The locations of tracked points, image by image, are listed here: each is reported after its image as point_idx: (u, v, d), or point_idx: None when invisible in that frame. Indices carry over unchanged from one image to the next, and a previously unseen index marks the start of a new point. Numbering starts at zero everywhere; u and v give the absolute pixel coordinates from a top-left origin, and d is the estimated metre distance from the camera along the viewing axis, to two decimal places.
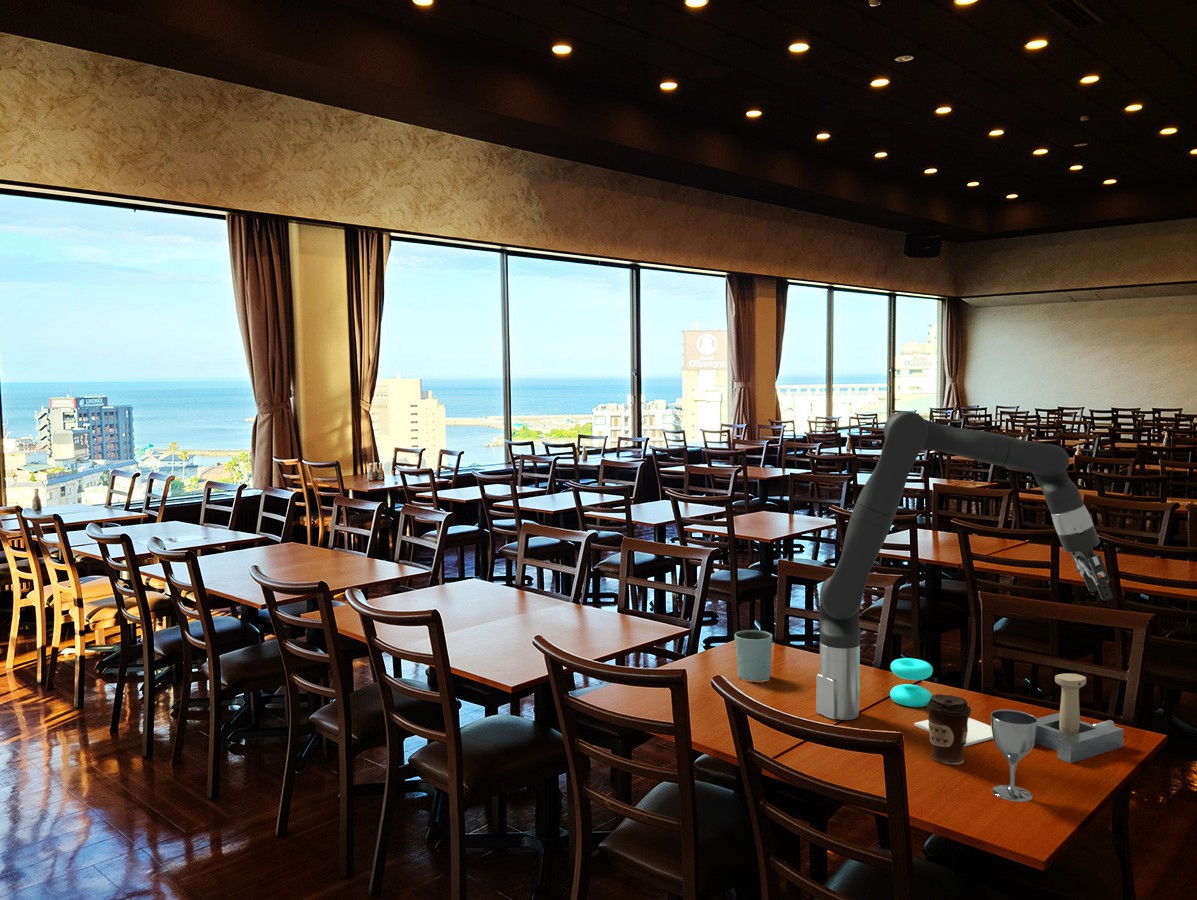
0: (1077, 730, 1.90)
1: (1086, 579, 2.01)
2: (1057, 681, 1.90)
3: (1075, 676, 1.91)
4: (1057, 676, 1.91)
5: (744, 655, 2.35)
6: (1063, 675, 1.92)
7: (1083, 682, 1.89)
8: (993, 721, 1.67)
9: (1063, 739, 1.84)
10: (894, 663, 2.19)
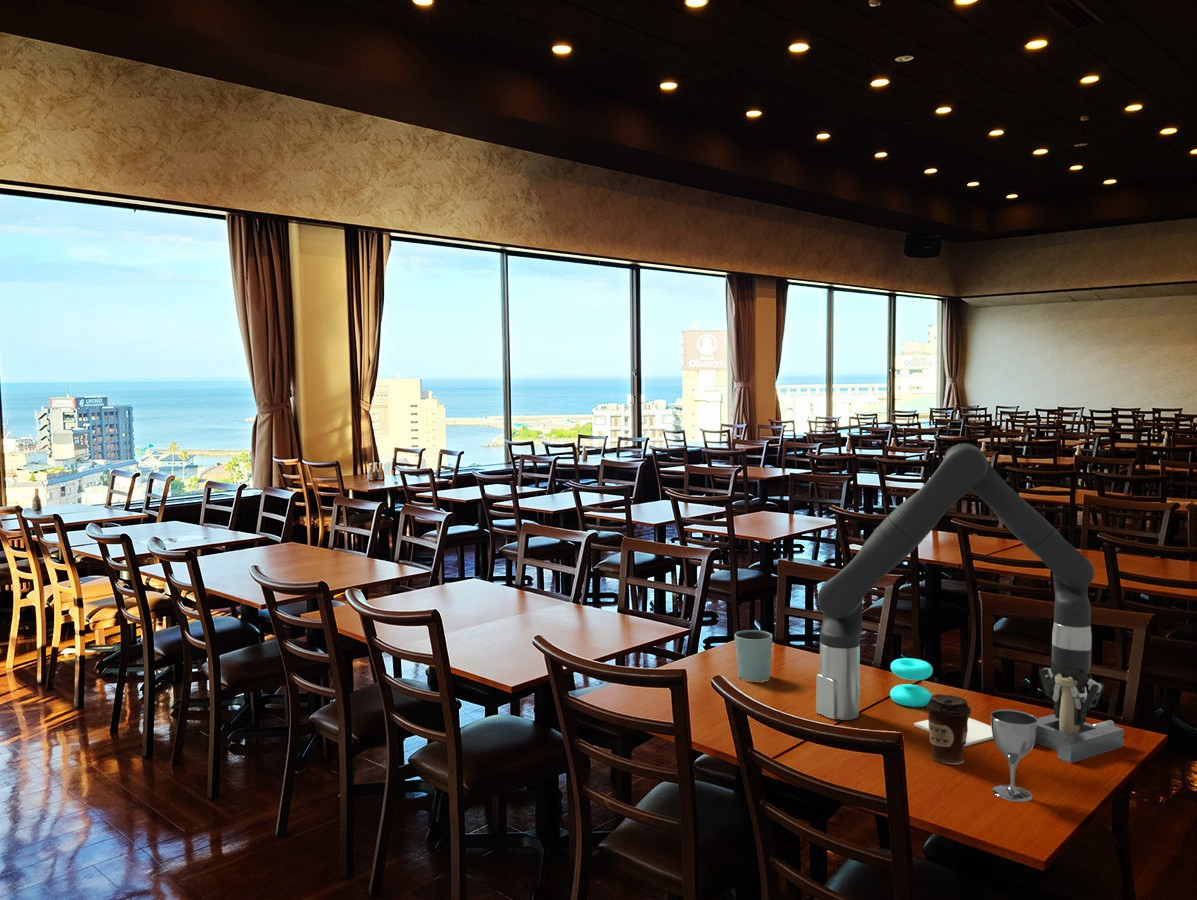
0: (1077, 730, 1.90)
1: (1059, 705, 1.92)
2: (1057, 681, 1.90)
3: None
4: (1057, 676, 1.91)
5: (744, 655, 2.35)
6: None
7: None
8: (993, 721, 1.67)
9: (1063, 739, 1.84)
10: (894, 663, 2.19)
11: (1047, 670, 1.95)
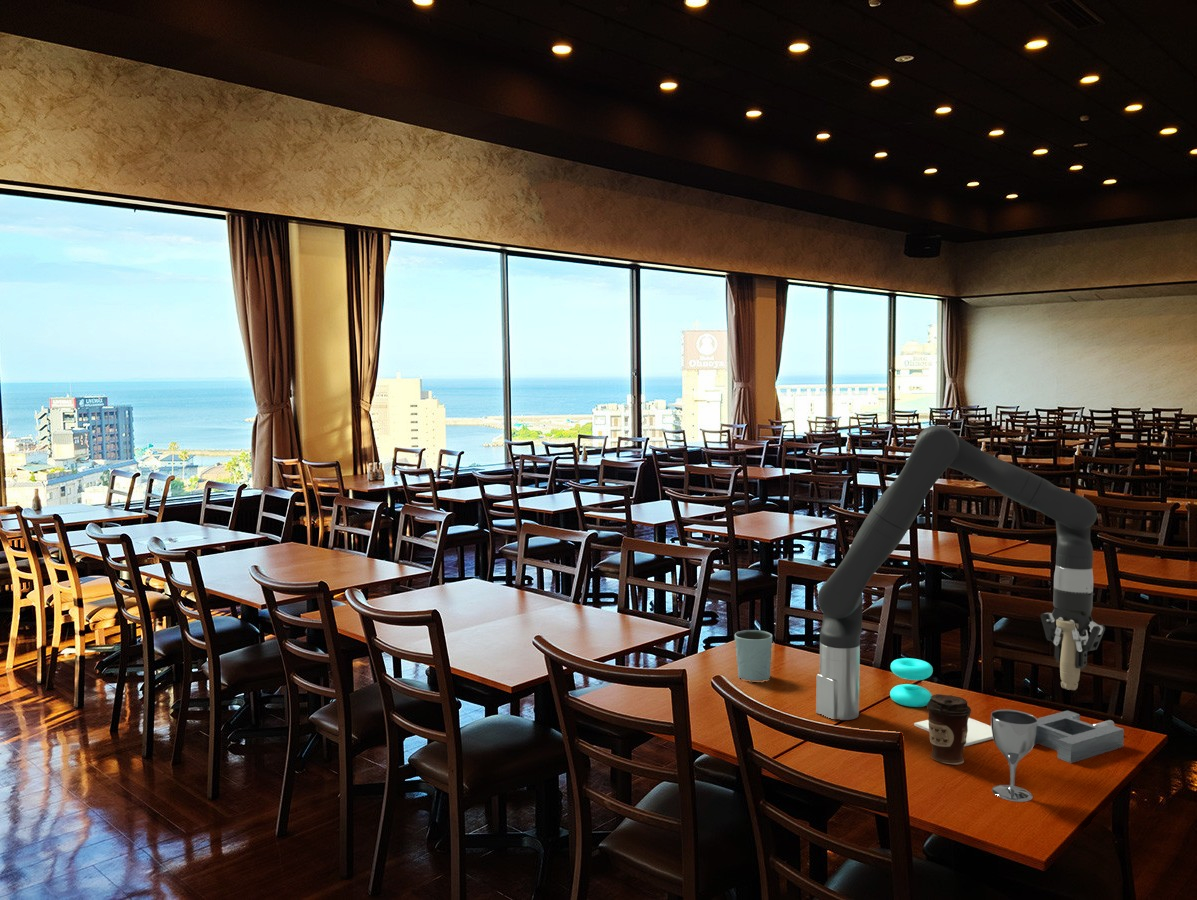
0: (1078, 673, 1.89)
1: (1060, 648, 1.92)
2: (1058, 624, 1.89)
3: None
4: None
5: (744, 655, 2.35)
6: None
7: None
8: (993, 721, 1.67)
9: (1063, 739, 1.84)
10: (894, 663, 2.19)
11: (1048, 614, 1.94)
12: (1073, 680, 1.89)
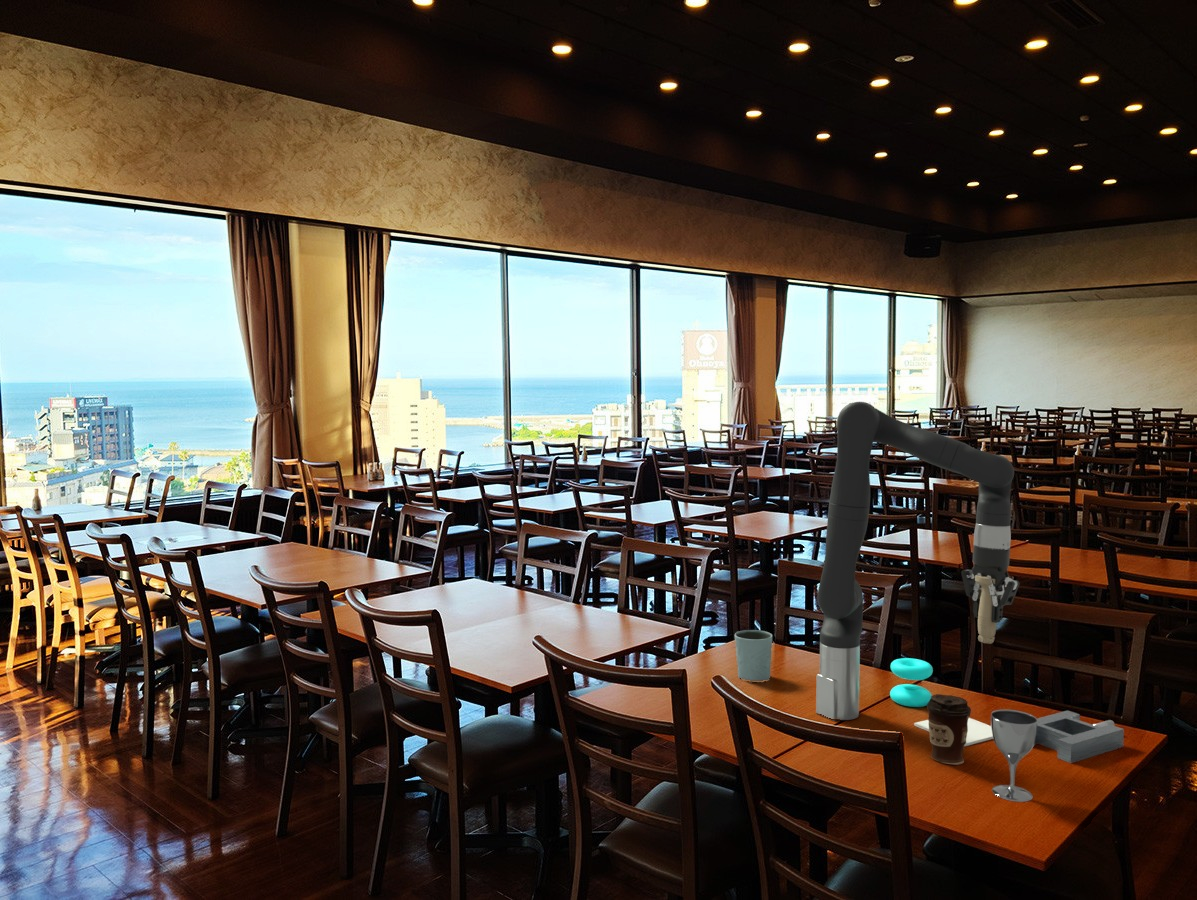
0: (994, 627, 1.95)
1: (978, 604, 1.98)
2: (976, 580, 1.95)
3: None
4: None
5: (744, 655, 2.35)
6: None
7: None
8: (993, 721, 1.67)
9: (1063, 739, 1.84)
10: (894, 663, 2.19)
11: (969, 571, 2.00)
12: (989, 634, 1.95)
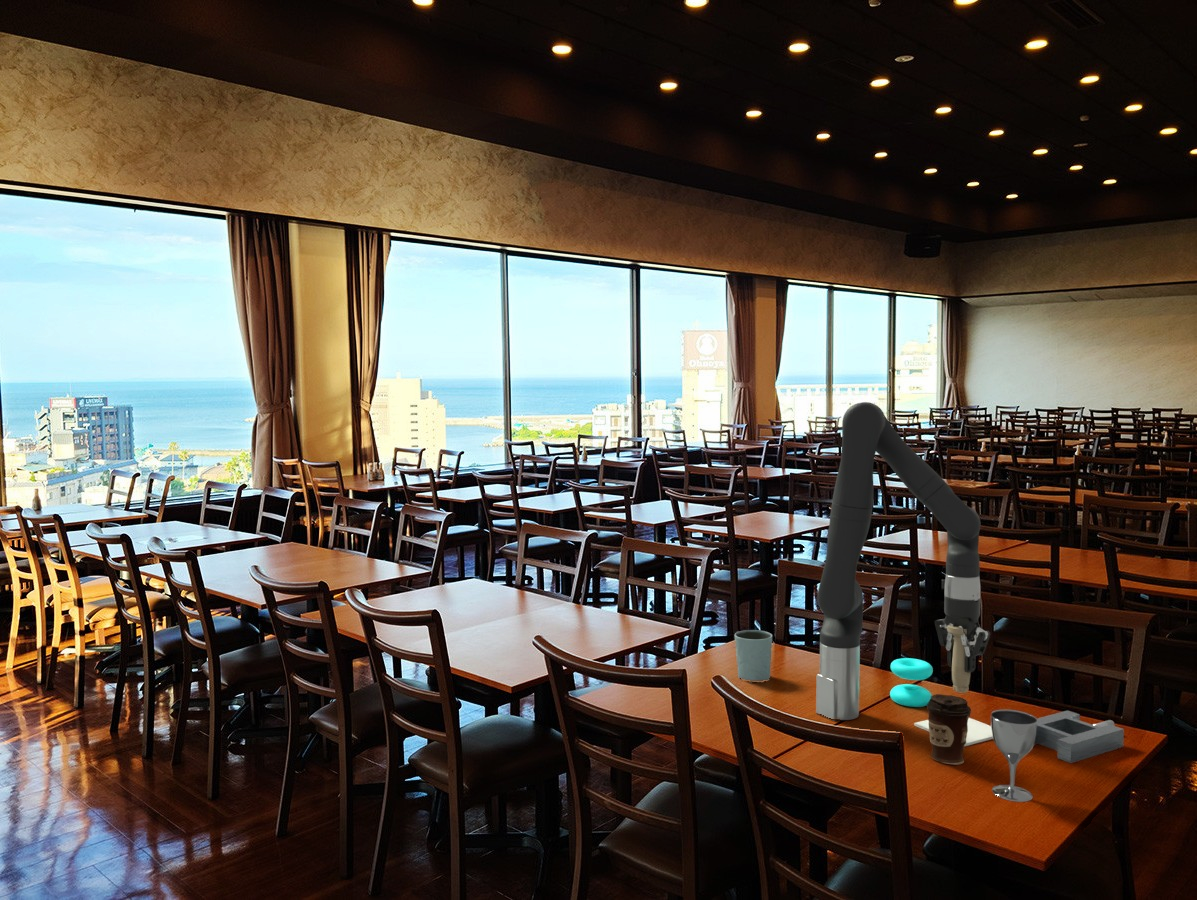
0: (968, 677, 1.98)
1: (951, 653, 2.00)
2: (948, 630, 1.98)
3: None
4: None
5: (744, 655, 2.35)
6: None
7: None
8: (993, 721, 1.67)
9: (1063, 739, 1.84)
10: (894, 663, 2.19)
11: (941, 621, 2.03)
12: (963, 683, 1.98)
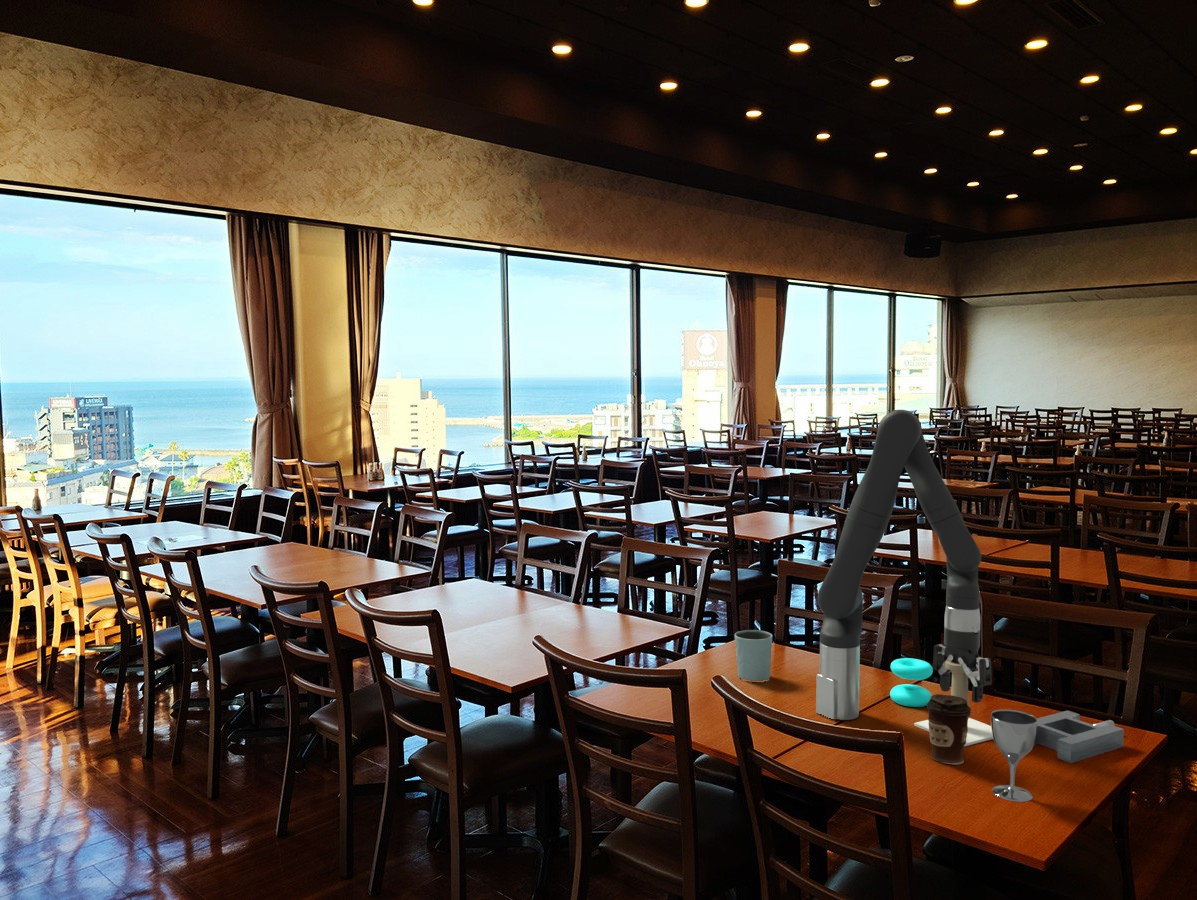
0: None
1: (944, 678, 2.02)
2: (947, 666, 1.99)
3: None
4: (947, 662, 2.00)
5: (744, 655, 2.35)
6: None
7: None
8: (993, 721, 1.67)
9: (1063, 739, 1.84)
10: (894, 663, 2.19)
11: (941, 648, 2.03)
12: None
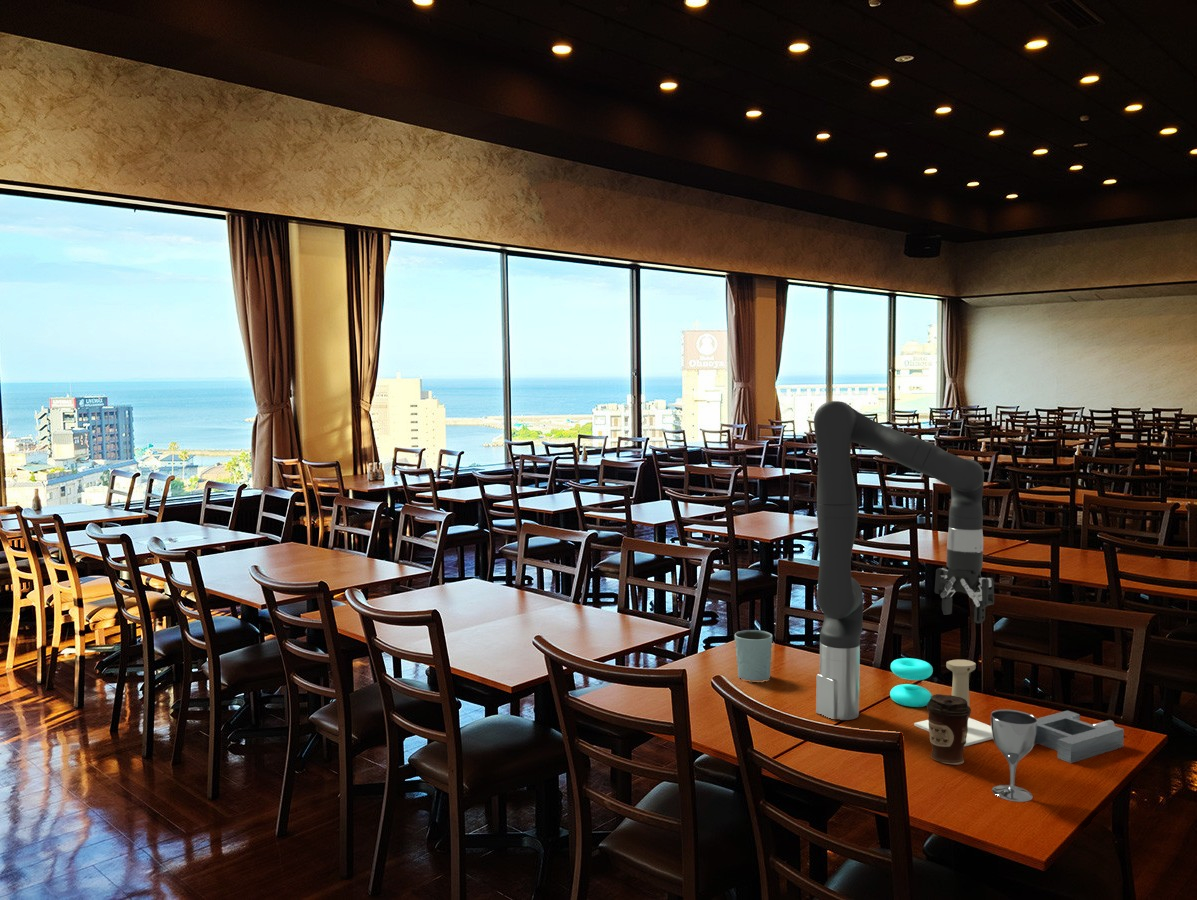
0: None
1: (946, 601, 2.01)
2: (948, 667, 1.99)
3: (966, 662, 2.00)
4: (948, 662, 2.00)
5: (744, 655, 2.35)
6: (954, 661, 2.00)
7: (972, 667, 1.97)
8: (993, 721, 1.67)
9: (1063, 739, 1.84)
10: (894, 663, 2.19)
11: (943, 571, 2.02)
12: None
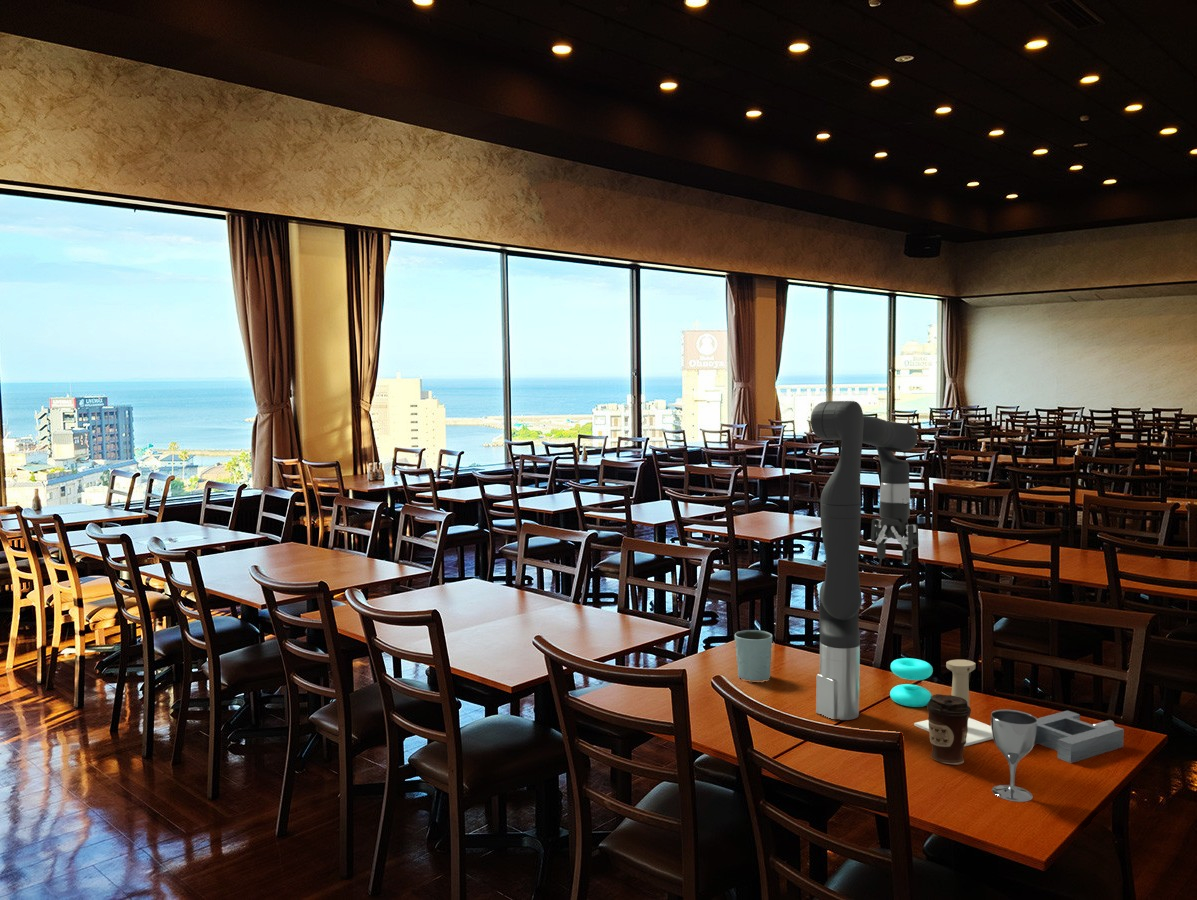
0: None
1: (880, 547, 2.34)
2: (948, 667, 1.99)
3: (965, 662, 2.00)
4: (948, 662, 2.00)
5: (744, 655, 2.35)
6: (954, 661, 2.00)
7: (972, 667, 1.97)
8: (993, 721, 1.67)
9: (1063, 739, 1.84)
10: (894, 663, 2.19)
11: (878, 521, 2.35)
12: None
